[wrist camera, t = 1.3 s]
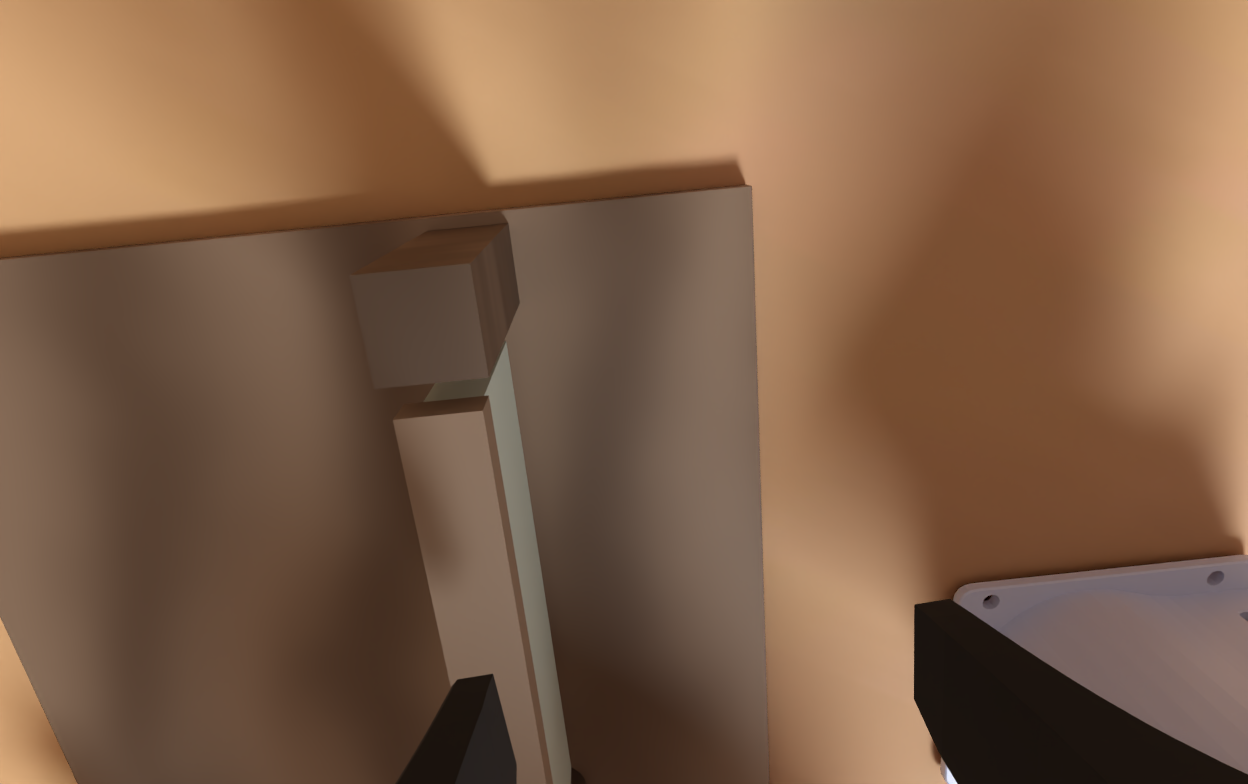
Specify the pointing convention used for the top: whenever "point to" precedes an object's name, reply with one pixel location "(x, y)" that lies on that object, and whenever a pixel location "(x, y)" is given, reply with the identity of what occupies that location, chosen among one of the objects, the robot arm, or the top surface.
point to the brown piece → (382, 487)
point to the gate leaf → (486, 557)
